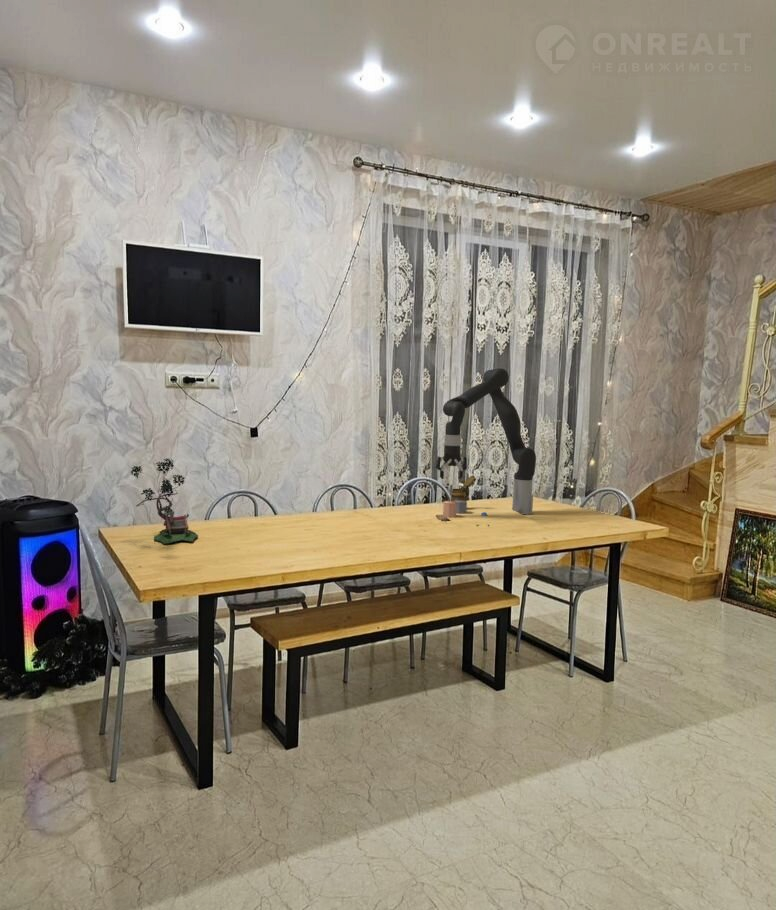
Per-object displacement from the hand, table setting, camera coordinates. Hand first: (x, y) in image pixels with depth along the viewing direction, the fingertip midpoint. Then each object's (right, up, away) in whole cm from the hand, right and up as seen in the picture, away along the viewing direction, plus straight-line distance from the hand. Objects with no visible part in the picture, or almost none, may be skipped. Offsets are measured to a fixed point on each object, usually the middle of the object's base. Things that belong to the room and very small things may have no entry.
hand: (451, 478), depth 331 cm
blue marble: (+17, -18, +7) cm, 25 cm away
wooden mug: (+7, -17, +24) cm, 30 cm away
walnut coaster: (-1, -19, +2) cm, 19 cm away
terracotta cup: (-1, -18, +2) cm, 18 cm away
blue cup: (+5, -18, +12) cm, 23 cm away
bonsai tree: (-113, -22, -62) cm, 131 cm away
